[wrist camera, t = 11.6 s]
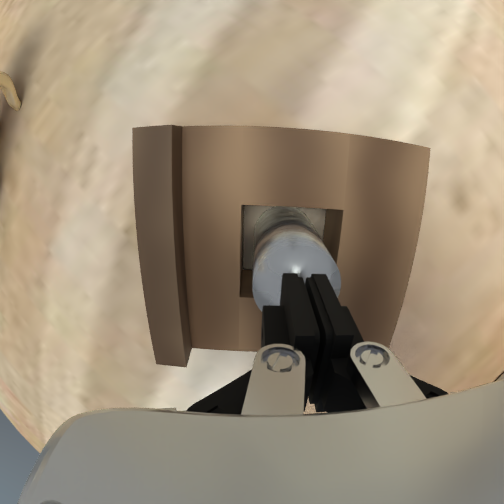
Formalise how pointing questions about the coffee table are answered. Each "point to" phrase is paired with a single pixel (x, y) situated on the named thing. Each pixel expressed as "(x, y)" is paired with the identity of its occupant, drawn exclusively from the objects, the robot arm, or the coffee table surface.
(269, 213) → the blue-grey domed cylinder
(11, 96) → the unicorn
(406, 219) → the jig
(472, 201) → the coffee table surface
